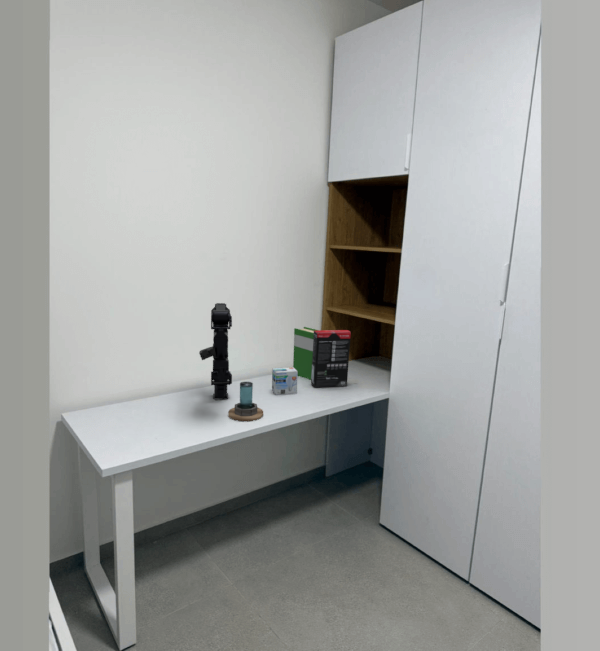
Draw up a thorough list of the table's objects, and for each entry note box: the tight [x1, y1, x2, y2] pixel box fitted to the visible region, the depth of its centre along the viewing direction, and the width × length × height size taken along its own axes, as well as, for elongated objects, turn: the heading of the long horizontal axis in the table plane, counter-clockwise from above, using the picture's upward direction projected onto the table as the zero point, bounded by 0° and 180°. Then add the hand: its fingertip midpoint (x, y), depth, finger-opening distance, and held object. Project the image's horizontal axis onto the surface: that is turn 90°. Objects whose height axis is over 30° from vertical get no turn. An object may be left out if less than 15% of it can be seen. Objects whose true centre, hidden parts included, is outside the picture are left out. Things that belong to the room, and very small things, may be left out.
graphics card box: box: [310, 329, 352, 388], centre depth 240 cm, size 17×7×27 cm, turn 105°
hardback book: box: [292, 326, 317, 381], centre depth 254 cm, size 18×7×24 cm, turn 42°
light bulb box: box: [271, 366, 298, 396], centre depth 230 cm, size 11×7×11 cm, turn 108°
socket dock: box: [227, 402, 264, 422], centre depth 202 cm, size 14×14×4 cm
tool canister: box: [239, 381, 254, 409], centre depth 201 cm, size 5×5×12 cm
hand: (220, 378), depth 206 cm, fingers open, 9 cm apart
